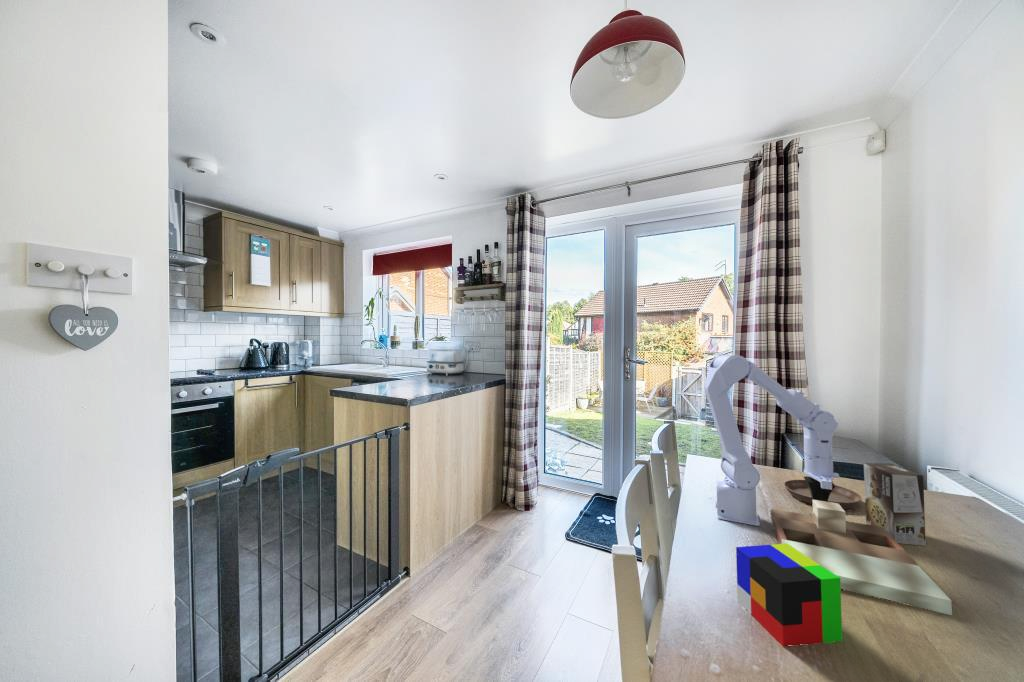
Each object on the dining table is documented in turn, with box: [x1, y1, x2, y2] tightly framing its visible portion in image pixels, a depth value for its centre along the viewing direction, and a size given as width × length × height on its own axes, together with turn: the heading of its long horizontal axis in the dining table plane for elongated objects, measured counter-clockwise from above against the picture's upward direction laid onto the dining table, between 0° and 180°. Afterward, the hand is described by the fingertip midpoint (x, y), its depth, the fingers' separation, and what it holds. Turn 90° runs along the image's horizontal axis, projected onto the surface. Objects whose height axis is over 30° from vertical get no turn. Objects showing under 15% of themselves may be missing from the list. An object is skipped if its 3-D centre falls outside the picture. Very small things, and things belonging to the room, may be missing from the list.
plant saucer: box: [783, 479, 863, 510], centre depth 108 cm, size 18×18×3 cm
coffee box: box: [863, 462, 927, 546], centre depth 88 cm, size 9×6×16 cm
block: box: [812, 500, 847, 533], centre depth 87 cm, size 5×5×5 cm
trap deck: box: [769, 508, 953, 616], centre depth 79 cm, size 22×28×2 cm
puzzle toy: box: [735, 543, 843, 648], centre depth 61 cm, size 10×10×10 cm
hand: (819, 507), depth 94 cm, fingers closed
